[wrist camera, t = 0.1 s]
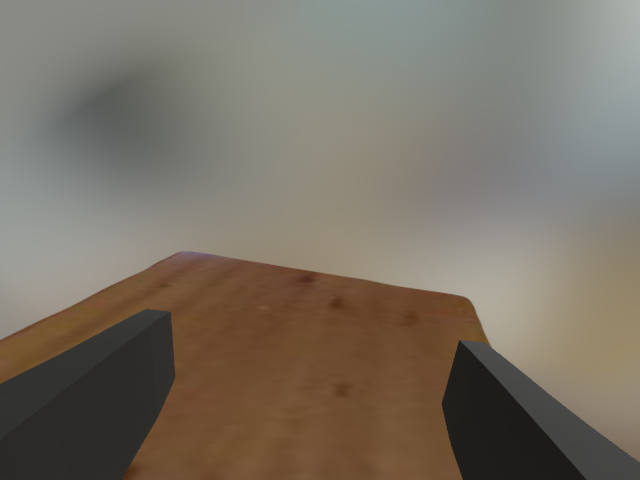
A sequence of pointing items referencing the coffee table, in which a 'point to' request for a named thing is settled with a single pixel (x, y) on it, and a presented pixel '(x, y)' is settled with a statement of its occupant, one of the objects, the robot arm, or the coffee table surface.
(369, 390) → the coffee table surface
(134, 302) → the coffee table surface
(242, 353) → the coffee table surface
